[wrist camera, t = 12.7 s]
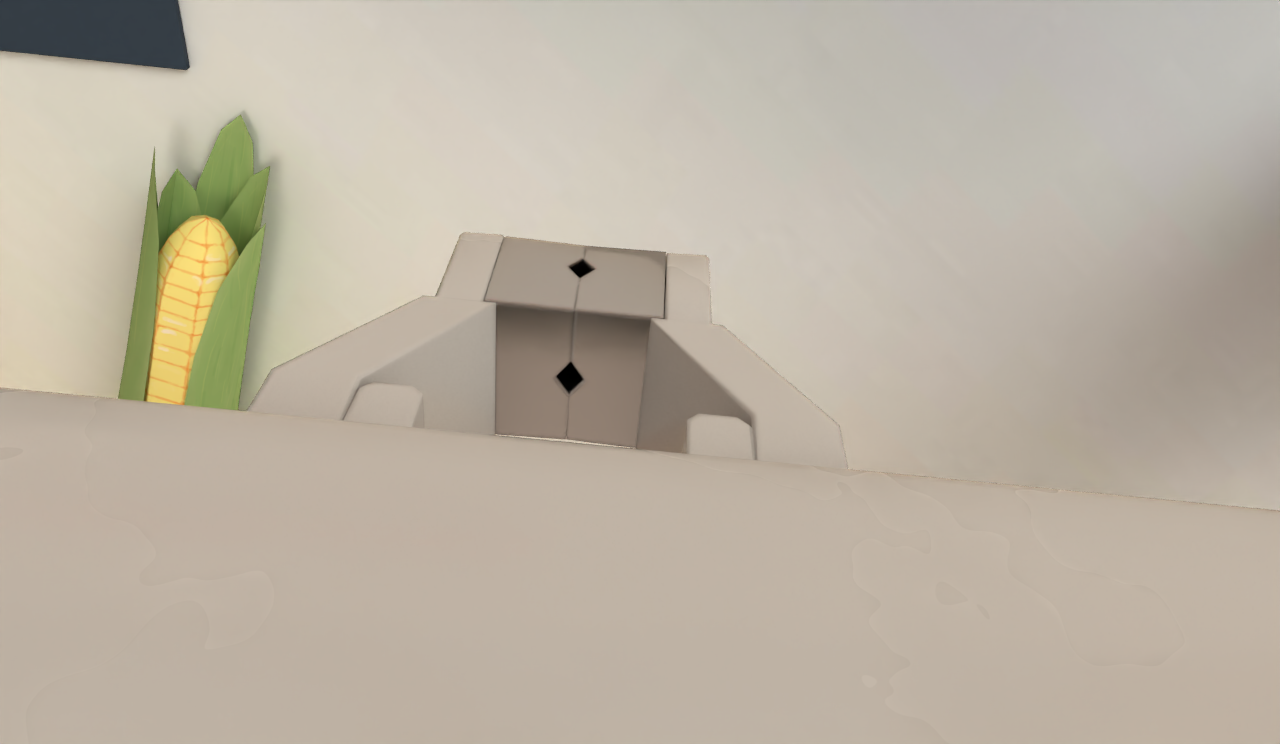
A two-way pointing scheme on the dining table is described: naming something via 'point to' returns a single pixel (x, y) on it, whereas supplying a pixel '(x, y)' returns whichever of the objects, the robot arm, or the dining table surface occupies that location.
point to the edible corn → (198, 281)
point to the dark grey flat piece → (96, 30)
